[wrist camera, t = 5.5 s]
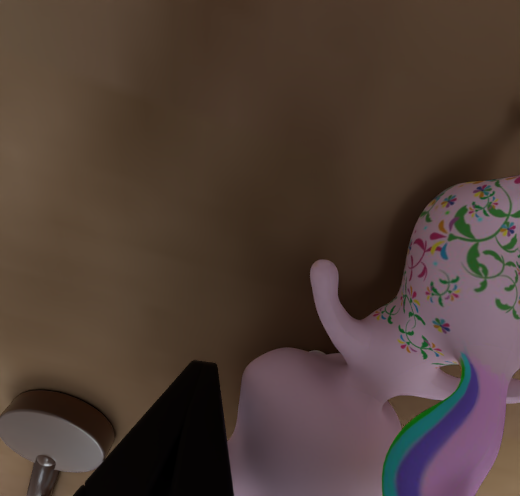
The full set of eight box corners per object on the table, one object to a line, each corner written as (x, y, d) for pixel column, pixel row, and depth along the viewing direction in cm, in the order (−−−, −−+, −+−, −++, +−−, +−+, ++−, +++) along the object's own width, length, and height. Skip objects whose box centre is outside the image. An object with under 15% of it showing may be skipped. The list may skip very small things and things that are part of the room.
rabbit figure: (426, 61, 7) (137, 450, 12) (971, -113, 2) (29, 734, 7) (604, 212, 8) (276, 509, 13) (1261, 404, 3) (285, 789, 8)
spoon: (68, 535, 21) (57, 558, 20) (-2, 513, 20) (-17, 535, 19) (126, 415, 13) (112, 443, 12) (16, 374, 12) (-8, 400, 11)
